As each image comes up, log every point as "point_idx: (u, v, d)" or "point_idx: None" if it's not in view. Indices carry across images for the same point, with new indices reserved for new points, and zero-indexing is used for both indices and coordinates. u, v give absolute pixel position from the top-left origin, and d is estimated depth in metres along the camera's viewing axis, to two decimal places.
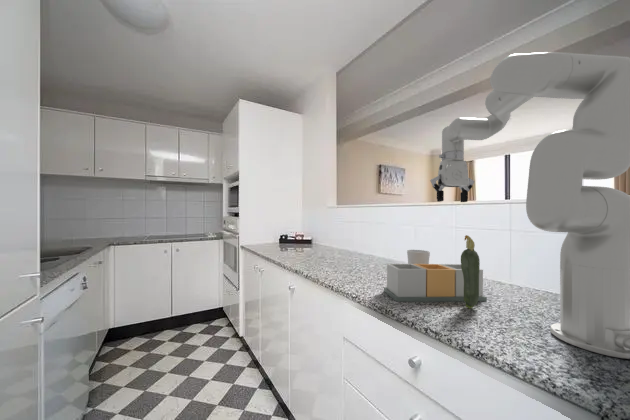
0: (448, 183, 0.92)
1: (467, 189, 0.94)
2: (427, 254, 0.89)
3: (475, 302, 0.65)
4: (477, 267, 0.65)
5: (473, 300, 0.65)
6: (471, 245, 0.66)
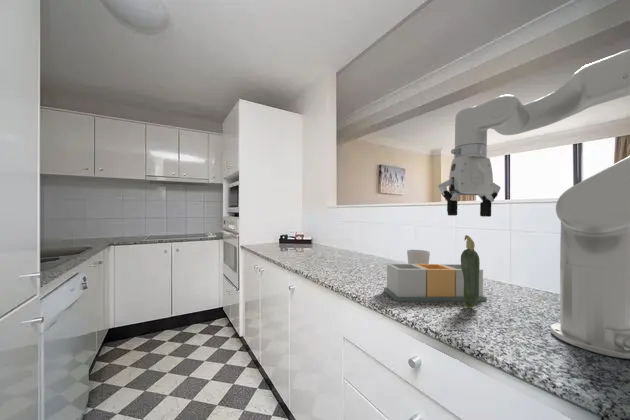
0: (464, 190, 0.64)
1: (491, 199, 0.66)
2: (427, 254, 0.89)
3: (475, 302, 0.65)
4: (477, 267, 0.65)
5: (473, 300, 0.65)
6: (471, 245, 0.66)
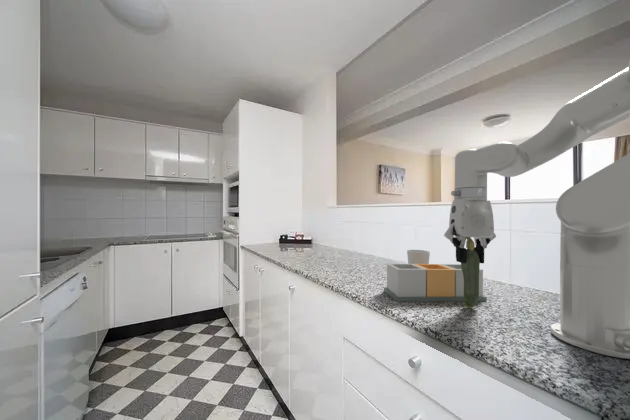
0: (465, 234, 0.64)
1: (483, 245, 0.66)
2: (427, 254, 0.89)
3: (475, 302, 0.65)
4: (477, 267, 0.65)
5: (473, 300, 0.65)
6: (471, 245, 0.66)
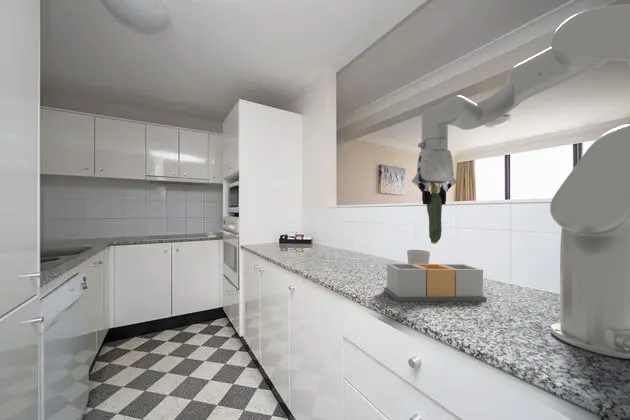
0: (428, 178, 0.75)
1: (445, 189, 0.77)
2: (427, 254, 0.89)
3: (438, 237, 0.76)
4: (439, 206, 0.76)
5: (436, 235, 0.76)
6: (435, 189, 0.77)
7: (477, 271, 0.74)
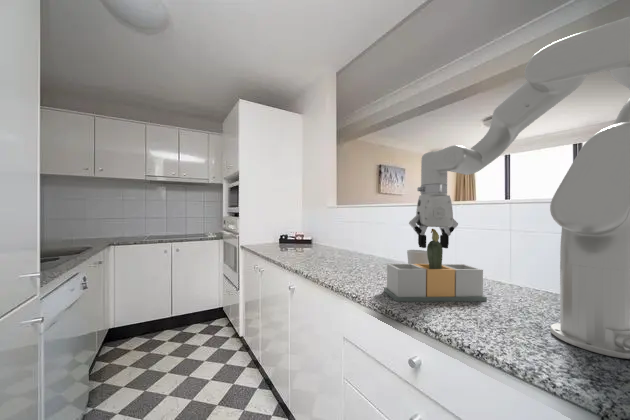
0: (428, 224, 0.75)
1: (448, 233, 0.77)
2: None
3: None
4: (440, 256, 0.75)
5: None
6: (436, 237, 0.76)
7: (477, 271, 0.74)
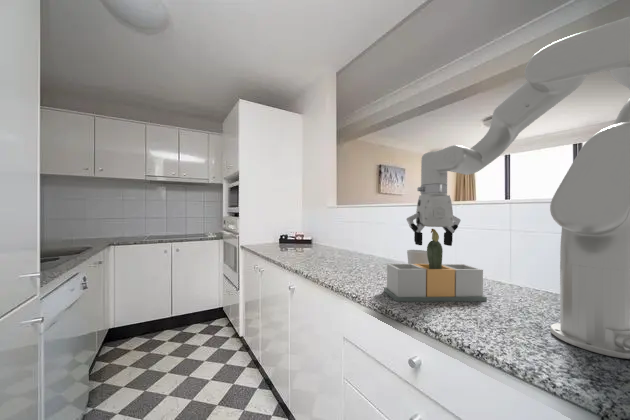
0: (428, 224, 0.75)
1: (451, 230, 0.77)
2: None
3: None
4: (440, 256, 0.75)
5: None
6: (435, 237, 0.76)
7: (477, 271, 0.74)
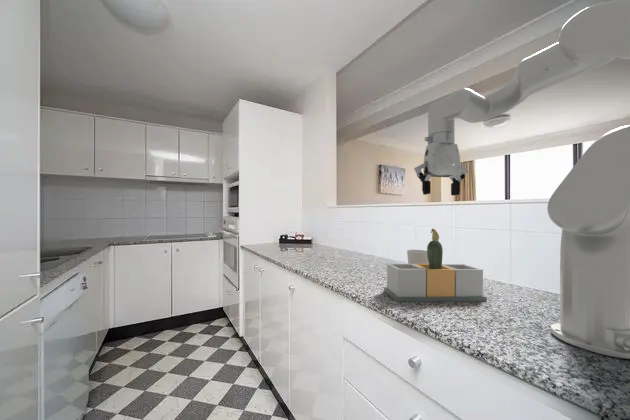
0: (436, 171, 0.75)
1: (459, 179, 0.77)
2: None
3: None
4: (440, 256, 0.75)
5: None
6: (436, 237, 0.76)
7: (477, 271, 0.74)
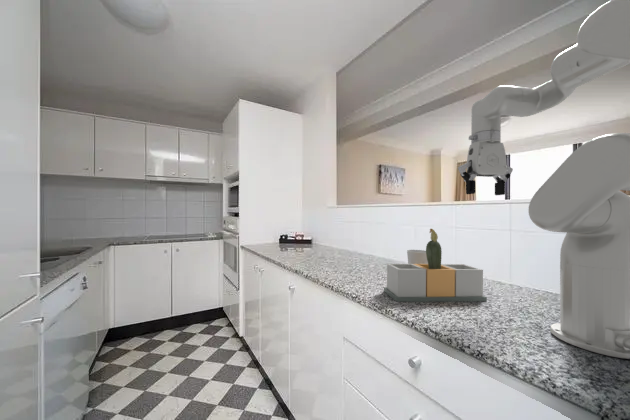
0: (481, 171, 0.73)
1: (504, 179, 0.75)
2: None
3: None
4: (439, 256, 0.75)
5: None
6: (434, 237, 0.77)
7: (477, 271, 0.74)
